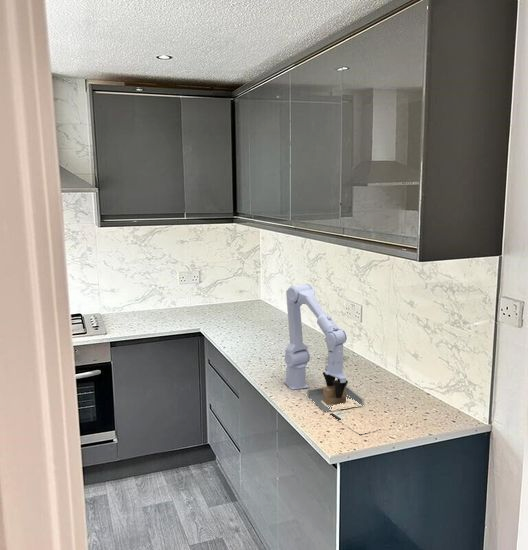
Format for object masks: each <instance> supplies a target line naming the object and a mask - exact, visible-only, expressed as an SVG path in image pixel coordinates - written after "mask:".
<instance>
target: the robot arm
mask: <svg viewBox="0 0 528 550" xmlns="http://www.w3.org/2000/svg"><path fill="white" fill-rule="evenodd" d="M285 293H286V306H287V307H286V309H287V320H288V330H289V331H288V332H289V344H288V346H286V348H285V349H284V350H285V354H284V362H285V364H286V369H285V372H286V373H285V378H286V379H285V380H283V382H284V384H285V385H286V386H287V387H288V388H289V389H290V390H291V391H293V390H302V389H310V386H309V385H308V384H307V383H306V382H307V381H306V380H307V379H306V374H307V372H306V370H307V369H306V366H308V363H309V362H310V360H311V356H310V353H309V349H308V348H309V347H308V345H306V344H305V343H304V339H303V326H302V313H301V311H302V310H301V306H302V305H306V307H308V309H309V310H310V311H311V312H312V313H313V315H314V316H315V317H316V324H317V325H318V327H319V328H320V330H321V331H322V333H323V334H324V335H325V336H324V341H325V344H326V349H327V353H328V354H327V364H326V365H324V370H325V371H323V372H322V376H323V377H324V379H325V383H326V386H333V385H334V386H335V393H336V398H342V395H343V391H344V389H345V387H346V385H347V386H348V384H349V380H347V378H346V377H347V376H345V373H344V369H343V368H344V367H343V365H344V344H346V342H347V336H348V335H347V333H346V331H345V330H344V329H343V328H340V327H339V326H337V324H336V323H335V321H334V320H333V318H332V316H331V315H329V314H328V313H327V314H326V313H325V311H324V310H323V308H322V307H321V305H320V303H319V301H318V300H317V298H316V296H315V295H316V294H315V293H316V292H315V289H314V288H313V286H312V285H311V284H310V283H305V284H300V285H292V286H289V287H288V289H286V291H285Z"/></svg>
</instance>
